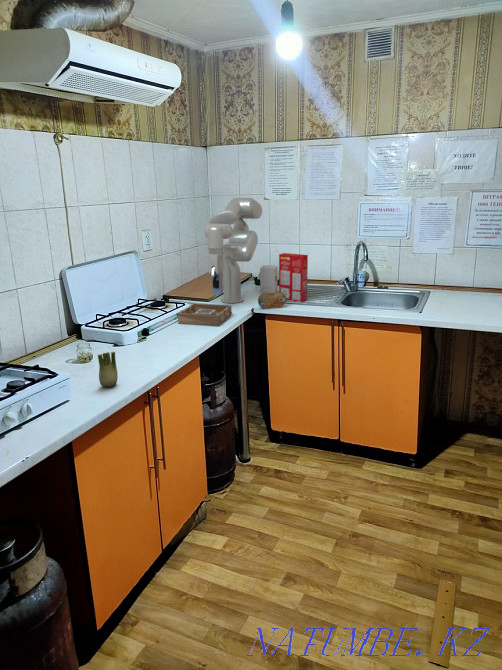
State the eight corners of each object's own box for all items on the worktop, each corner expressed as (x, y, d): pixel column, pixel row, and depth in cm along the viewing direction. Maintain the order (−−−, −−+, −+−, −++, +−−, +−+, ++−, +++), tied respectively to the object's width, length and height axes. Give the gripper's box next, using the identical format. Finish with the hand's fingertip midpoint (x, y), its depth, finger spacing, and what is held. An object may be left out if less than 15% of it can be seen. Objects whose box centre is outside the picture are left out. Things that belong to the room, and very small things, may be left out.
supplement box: (275, 293, 302) (274, 268, 298) (260, 293, 304) (259, 267, 300) (277, 290, 311) (277, 265, 306) (263, 289, 313) (263, 265, 308)
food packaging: (306, 300, 285) (307, 254, 278) (302, 302, 281) (302, 256, 274) (283, 297, 293) (284, 253, 286) (279, 299, 289) (279, 254, 282)
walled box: (194, 313, 263) (193, 303, 262) (231, 315, 258) (231, 305, 256) (178, 323, 245) (177, 313, 243) (218, 326, 239) (217, 316, 238)
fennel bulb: (118, 382, 177) (115, 349, 173) (117, 388, 172) (114, 354, 169) (101, 384, 176) (97, 350, 172) (99, 389, 171) (95, 355, 168)
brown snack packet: (259, 309, 268) (258, 293, 265) (257, 308, 270) (257, 292, 268) (286, 307, 271) (286, 291, 269) (284, 306, 274) (284, 290, 272)
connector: (215, 292, 268) (214, 269, 264) (222, 292, 267) (221, 270, 263) (212, 294, 265) (211, 271, 261) (220, 294, 264) (219, 271, 260)
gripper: (214, 248, 267) (216, 282, 273) (202, 253, 252) (204, 290, 258) (228, 248, 265) (229, 283, 271) (217, 254, 250) (219, 291, 256)
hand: (217, 286), depth 265 cm, fingers closed on connector, 4 cm apart
